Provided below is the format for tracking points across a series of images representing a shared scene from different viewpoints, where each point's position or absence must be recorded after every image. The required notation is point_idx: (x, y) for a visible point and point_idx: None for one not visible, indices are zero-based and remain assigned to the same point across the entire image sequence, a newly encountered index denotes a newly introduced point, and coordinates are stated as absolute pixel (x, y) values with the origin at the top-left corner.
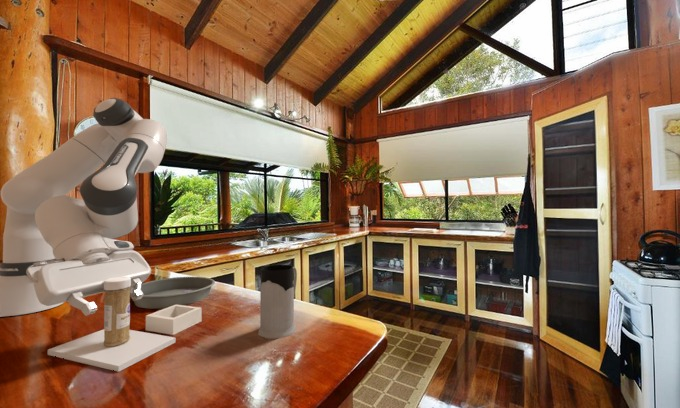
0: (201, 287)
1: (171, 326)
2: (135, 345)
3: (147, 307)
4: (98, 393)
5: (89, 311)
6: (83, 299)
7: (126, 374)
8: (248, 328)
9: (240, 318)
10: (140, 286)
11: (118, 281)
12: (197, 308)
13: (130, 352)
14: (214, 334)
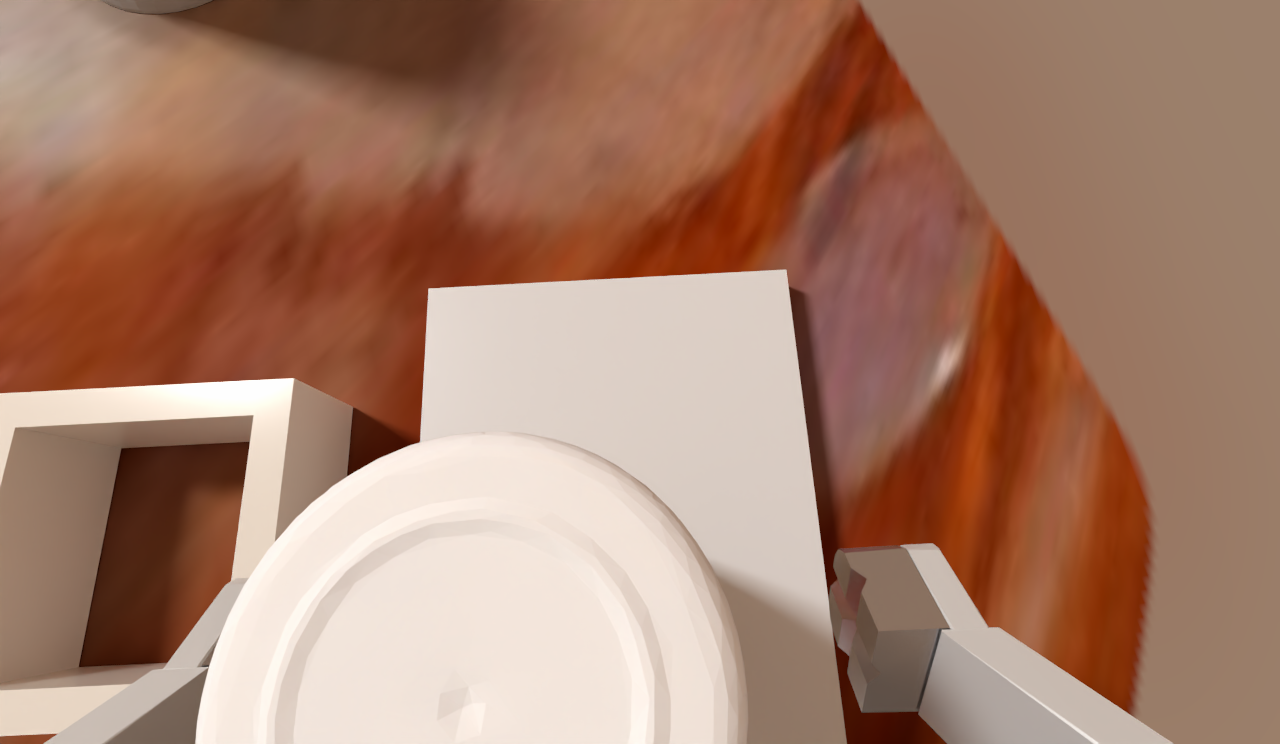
0: None
1: (321, 411)
2: (590, 422)
3: None
4: (914, 193)
5: (924, 544)
6: (1033, 688)
7: (776, 228)
8: (174, 70)
9: (18, 208)
10: (105, 707)
11: (601, 464)
12: (12, 412)
13: (664, 359)
14: (289, 181)
